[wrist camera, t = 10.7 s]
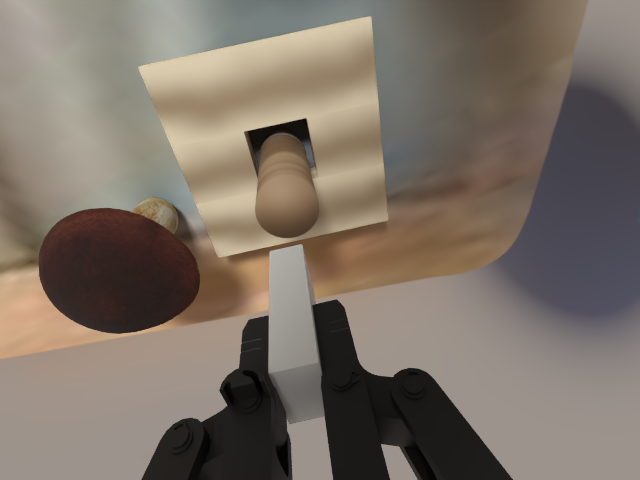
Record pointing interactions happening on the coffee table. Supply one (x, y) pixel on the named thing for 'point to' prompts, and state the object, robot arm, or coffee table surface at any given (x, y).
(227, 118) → the board
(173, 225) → the decorative mushroom
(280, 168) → the peg
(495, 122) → the coffee table surface
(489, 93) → the coffee table surface
